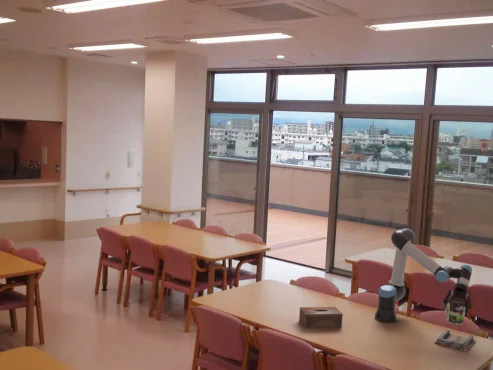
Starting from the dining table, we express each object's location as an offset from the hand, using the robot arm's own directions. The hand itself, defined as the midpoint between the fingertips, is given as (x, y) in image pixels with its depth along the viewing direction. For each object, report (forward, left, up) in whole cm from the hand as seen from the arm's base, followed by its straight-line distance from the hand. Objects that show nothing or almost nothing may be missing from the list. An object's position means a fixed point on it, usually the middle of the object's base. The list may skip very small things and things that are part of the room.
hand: (454, 315), depth 347 cm
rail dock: (+2, 0, -18) cm, 18 cm away
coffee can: (+1, +3, -6) cm, 6 cm away
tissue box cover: (-85, -7, -18) cm, 87 cm away
